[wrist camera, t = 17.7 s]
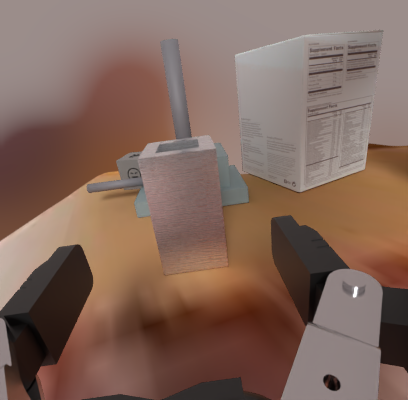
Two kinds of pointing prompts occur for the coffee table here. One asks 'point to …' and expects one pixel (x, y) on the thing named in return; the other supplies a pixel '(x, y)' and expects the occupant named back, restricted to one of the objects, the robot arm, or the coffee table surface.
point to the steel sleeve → (185, 203)
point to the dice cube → (129, 167)
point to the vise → (228, 175)
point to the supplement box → (307, 107)
